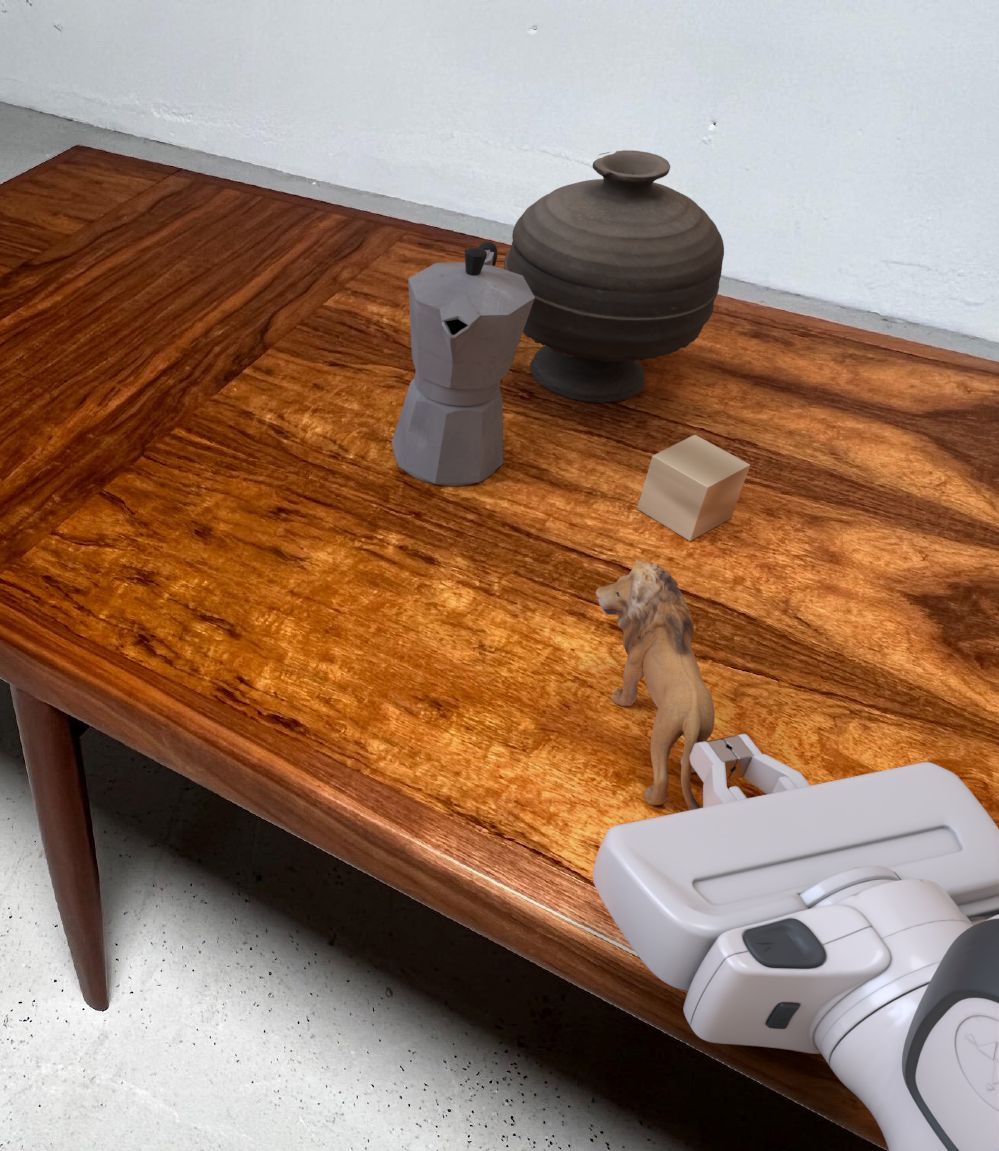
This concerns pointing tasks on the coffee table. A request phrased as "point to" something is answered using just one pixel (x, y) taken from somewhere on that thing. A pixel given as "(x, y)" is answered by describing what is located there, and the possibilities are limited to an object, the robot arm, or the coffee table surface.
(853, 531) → the coffee table surface
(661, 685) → the lion figurine
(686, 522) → the beige block
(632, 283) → the pot
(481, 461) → the coffeepot
